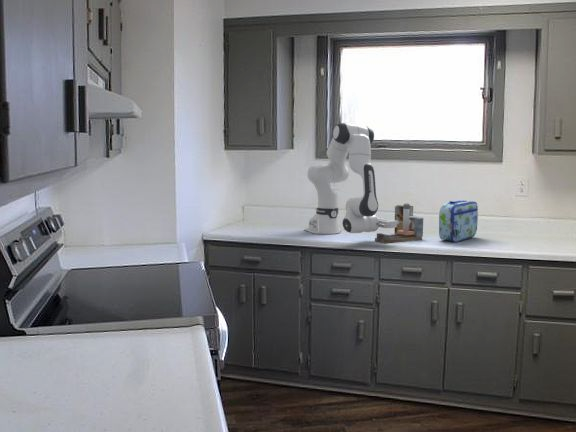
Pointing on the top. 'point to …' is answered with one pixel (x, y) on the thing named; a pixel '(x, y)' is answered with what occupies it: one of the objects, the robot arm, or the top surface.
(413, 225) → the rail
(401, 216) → the coffee box
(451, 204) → the lunch box
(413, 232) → the white column brown base
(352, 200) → the robot arm
